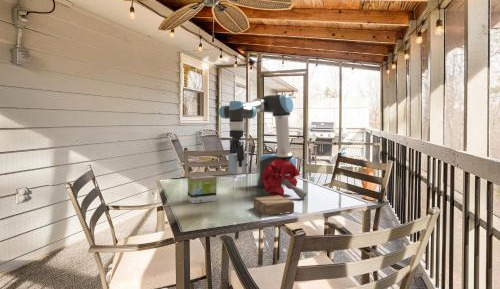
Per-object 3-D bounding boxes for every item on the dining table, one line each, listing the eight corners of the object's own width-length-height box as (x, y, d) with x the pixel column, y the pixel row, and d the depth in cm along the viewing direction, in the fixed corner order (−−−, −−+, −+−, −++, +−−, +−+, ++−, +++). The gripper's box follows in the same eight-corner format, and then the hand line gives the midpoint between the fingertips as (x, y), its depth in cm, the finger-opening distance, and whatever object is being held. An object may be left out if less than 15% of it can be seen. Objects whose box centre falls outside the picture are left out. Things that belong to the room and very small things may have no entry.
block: (228, 171, 174) (228, 153, 173) (240, 170, 177) (239, 152, 176) (233, 173, 167) (233, 155, 166) (245, 172, 170) (245, 154, 169)
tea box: (192, 204, 180) (192, 178, 179) (187, 200, 189) (187, 175, 188) (217, 200, 187) (216, 176, 186) (211, 197, 196) (210, 173, 195)
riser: (253, 208, 173) (253, 197, 172) (279, 205, 179) (279, 194, 178) (266, 216, 158) (266, 205, 158) (293, 213, 164) (293, 201, 164)
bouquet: (303, 204, 204) (267, 177, 215) (320, 175, 195) (281, 149, 206) (289, 215, 186) (250, 185, 197) (307, 184, 177) (266, 155, 188)
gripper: (223, 129, 177) (223, 169, 179) (237, 130, 159) (237, 175, 161) (235, 128, 180) (235, 168, 182) (250, 130, 163) (250, 174, 165)
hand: (236, 171), depth 172 cm, fingers closed on block, 7 cm apart
